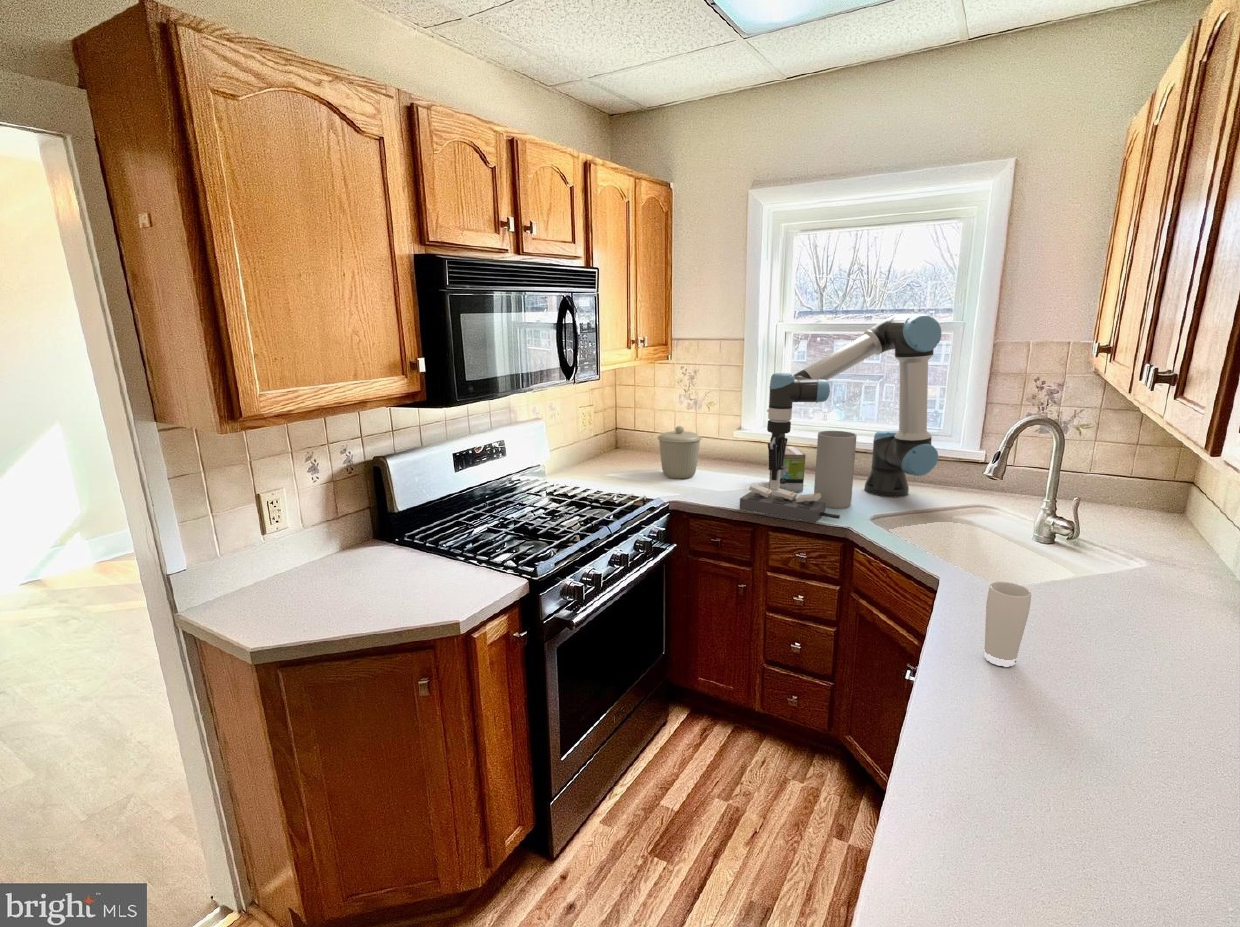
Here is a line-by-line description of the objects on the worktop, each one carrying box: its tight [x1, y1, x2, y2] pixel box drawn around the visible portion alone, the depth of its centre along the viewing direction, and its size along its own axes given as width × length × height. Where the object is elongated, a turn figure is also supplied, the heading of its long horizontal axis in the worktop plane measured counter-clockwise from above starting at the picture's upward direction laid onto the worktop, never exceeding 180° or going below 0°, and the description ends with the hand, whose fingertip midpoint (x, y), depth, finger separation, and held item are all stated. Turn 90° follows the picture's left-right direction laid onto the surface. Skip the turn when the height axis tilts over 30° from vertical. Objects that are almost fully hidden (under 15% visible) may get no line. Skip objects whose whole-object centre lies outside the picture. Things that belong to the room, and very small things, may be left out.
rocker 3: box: [796, 493, 821, 502], centre depth 203 cm, size 7×4×2 cm, turn 56°
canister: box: [656, 425, 703, 480], centre depth 252 cm, size 18×18×21 cm
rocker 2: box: [772, 488, 798, 500], centre depth 207 cm, size 7×4×2 cm, turn 57°
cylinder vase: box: [813, 430, 858, 510], centre depth 212 cm, size 12×12×25 cm
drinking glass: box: [984, 581, 1032, 660], centre depth 115 cm, size 7×7×15 cm
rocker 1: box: [748, 483, 773, 498], centre depth 212 cm, size 7×4×2 cm, turn 56°
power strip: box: [739, 491, 841, 523], centre depth 205 cm, size 32×10×5 cm, turn 56°
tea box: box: [768, 446, 807, 493], centre depth 235 cm, size 15×10×15 cm
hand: (774, 488), depth 208 cm, fingers closed
